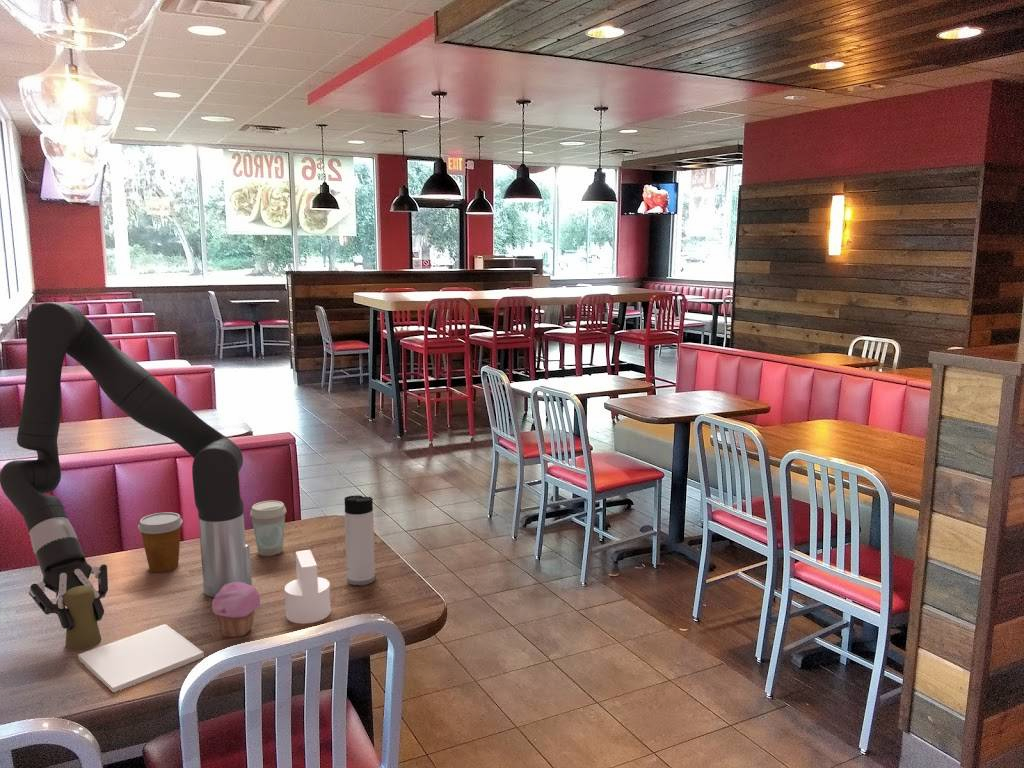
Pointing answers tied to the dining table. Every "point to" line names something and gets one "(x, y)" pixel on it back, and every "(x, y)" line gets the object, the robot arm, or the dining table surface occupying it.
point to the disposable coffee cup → (161, 540)
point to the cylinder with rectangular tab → (307, 592)
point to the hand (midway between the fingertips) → (85, 623)
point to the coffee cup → (268, 526)
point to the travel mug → (359, 540)
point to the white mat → (140, 657)
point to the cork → (81, 618)
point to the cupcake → (235, 608)
